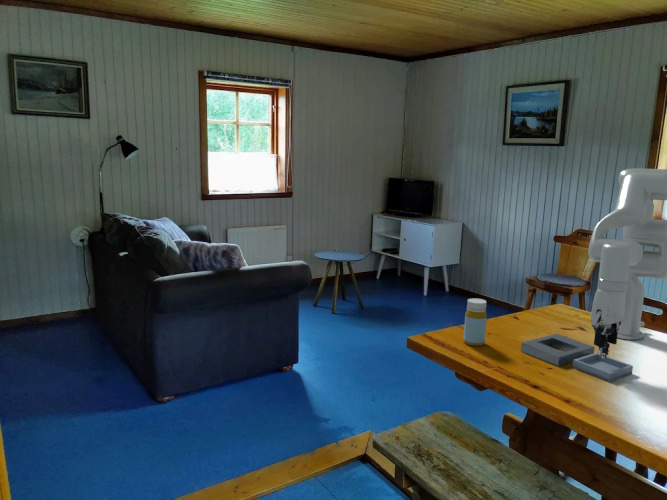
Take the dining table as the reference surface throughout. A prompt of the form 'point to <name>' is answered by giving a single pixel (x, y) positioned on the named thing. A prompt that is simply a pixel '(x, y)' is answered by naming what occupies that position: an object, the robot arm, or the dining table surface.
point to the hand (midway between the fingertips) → (605, 343)
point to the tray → (602, 367)
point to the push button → (605, 350)
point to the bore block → (556, 357)
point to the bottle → (475, 322)
